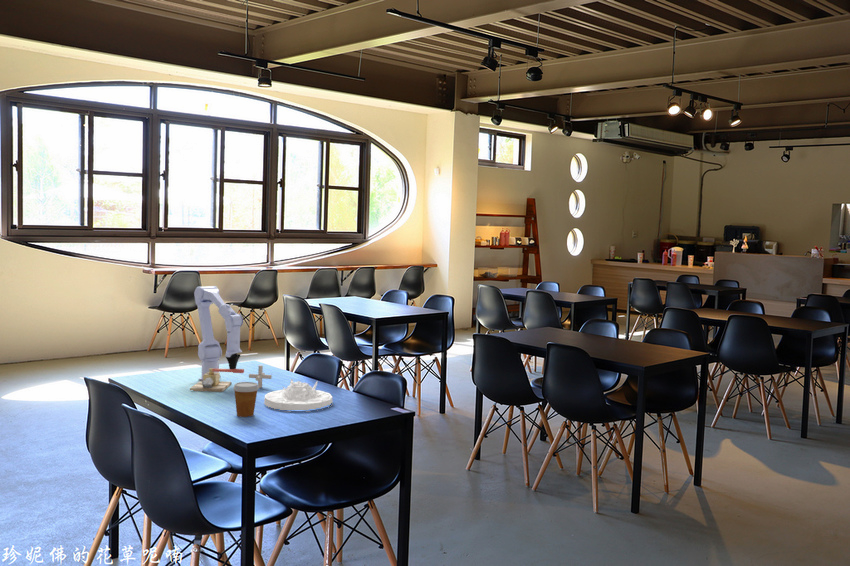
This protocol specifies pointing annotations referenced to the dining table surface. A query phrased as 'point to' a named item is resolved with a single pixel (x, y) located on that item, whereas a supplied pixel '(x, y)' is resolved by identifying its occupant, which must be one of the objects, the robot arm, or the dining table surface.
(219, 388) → the mounting board
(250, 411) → the disposable coffee cup
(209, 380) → the ball valve
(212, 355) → the robot arm
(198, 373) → the dining table surface
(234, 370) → the lever
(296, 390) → the cake
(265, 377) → the pipe connector
